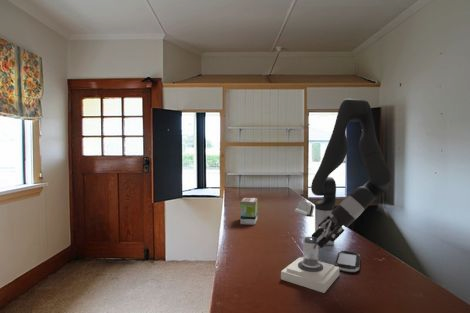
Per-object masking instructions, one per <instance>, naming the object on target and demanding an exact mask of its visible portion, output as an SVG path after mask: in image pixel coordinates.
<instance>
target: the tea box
mask: <svg viewBox="0 0 470 313" xmlns="http://www.w3.org/2000/svg"><path fill="white" fill-rule="evenodd" d="M257 221H258V198H257V197H243V198H242V199H241V201H240V225H251V226H253V225H256V223H257Z"/></svg>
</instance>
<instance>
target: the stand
mask: <svg viewBox="0 0 470 313" xmlns="http://www.w3.org/2000/svg"><path fill="white" fill-rule="evenodd" d="M302 261H303V256H300V257H298V258H297V259H295V260H294V261H293V262H292V263H290V264H288V265H286V267H284V268H283V269H282V270H281V271H280V280H282V281H286V282H288V283H291V284H294V285H298V286H301V287H305V288H308V289H310V290H314V291H316V292H319V293H322V294H324V293H326V292H327V290H328V289H329V288H330V287H331V285H333V283H334V282H335V281H336V280H337V278H338V277H339V276H340V270H339V267H336V266H335V264H331V263H327V262H323V261H320V260H318V262H319V263H320V267H319V268H318V269H308V268H305V267H303V266H302Z"/></svg>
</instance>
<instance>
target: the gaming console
mask: <svg viewBox="0 0 470 313" xmlns="http://www.w3.org/2000/svg"><path fill="white" fill-rule="evenodd" d="M334 266H336V267H339V272H343V273H348V274H349V273H350V274H354V273H357V272H358V271H360V266H361V255H360V254H359V253H357V252H355V251H347V250H340V252H337V256H336V258H335V263H334Z"/></svg>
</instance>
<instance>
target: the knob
mask: <svg viewBox="0 0 470 313" xmlns="http://www.w3.org/2000/svg"><path fill="white" fill-rule="evenodd" d="M317 242H318V241H317V238H315V237H312V236H305V237H304V238H303V241H302V243H303V244H302V250H303V251H302V257H303V261H302V266H303V267H305V268H308V269H318V268H319V267H320V263H319V262H318V261H319V246H318V245H317Z"/></svg>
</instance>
